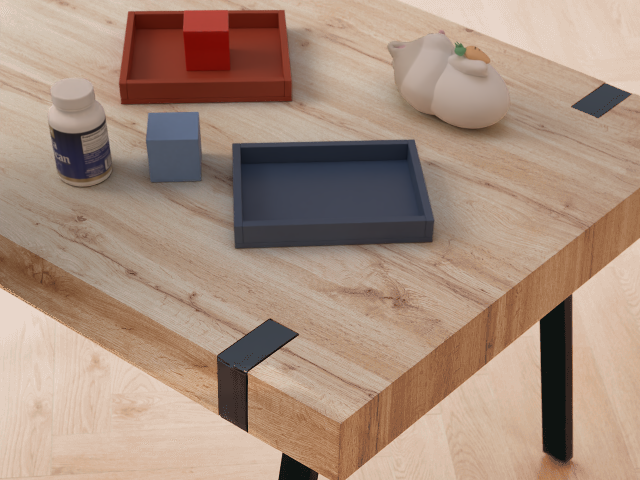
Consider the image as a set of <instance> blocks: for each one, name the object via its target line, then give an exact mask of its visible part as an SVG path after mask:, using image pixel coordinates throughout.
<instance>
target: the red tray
mask: <svg viewBox="0 0 640 480" xmlns="http://www.w3.org/2000/svg"><path fill="white" fill-rule="evenodd" d="M227 10H228V9H227ZM228 15H229V36H230V70H219V71H186V62H185V50H184V37H183V23H184V10H128V11H127V15H126V16H127V17H126V25H125V32H124V40H123V49H122V56H121V64H120V70H119V80H118V88H119V96H120V104H121V105H143V104H144V105H147V104H149V105H150V104H151V105H153V104H155V105H156V104H203V103H205V104H206V103H208V104H210V103H212V104H213V103H253V102H255V103H260V102H263V103H264V102H268V103H269V102H292V101H293V81H292V71H291V60H290V59H291V58H290V51H289V39H288V30H287V19H286V10H285V9H233V10H232V9H231V10H230V9H229V10H228Z"/></svg>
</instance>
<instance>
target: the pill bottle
mask: <svg viewBox="0 0 640 480" xmlns="http://www.w3.org/2000/svg"><path fill="white" fill-rule="evenodd" d="M49 93H50V98H51V102H52V105H50V107H49V109H48V110H47V125H48V130H49V134H50V141H51V146H52V152H53V157H54V162H55V168H56V171H57V175H58V177H59V178H60V180H61V181H62V182H63V183H65V184H67V185H71V186H73V187H81V188H82V187H83V188H84V187H91V186H95V185H98V184H100V183H102V182H104V181H105V180H107V179H108V178H109V177H110V175H111V174H112V172H113V159H112V158H113V157H112V152H111V146H110V137H109V132H108V131H109V130H108V124H107V123H108V122H107V117H106V111H105V108H104V105H102V103H101V102H99V100H97V99H96V92H95V87H94V84H93V83H92V82H91V80H88V79H87V78H84V77H80V76H79V77H78V76H72V77H71V76H70V77H64V78H62V79H59V80H57V81H55V82H54V83H53V84H52V85H51V87H50V89H49Z"/></svg>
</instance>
